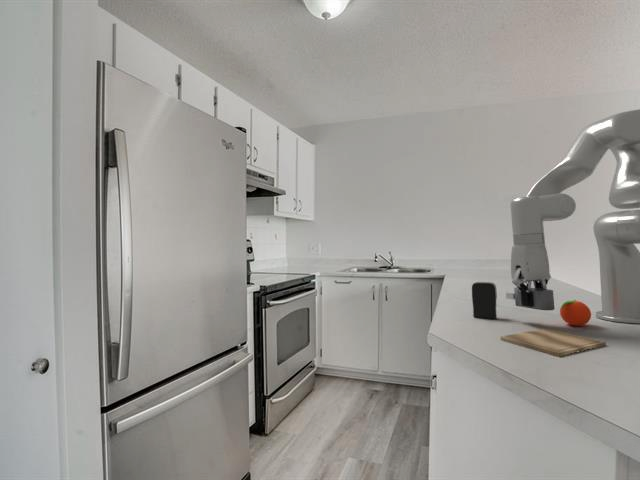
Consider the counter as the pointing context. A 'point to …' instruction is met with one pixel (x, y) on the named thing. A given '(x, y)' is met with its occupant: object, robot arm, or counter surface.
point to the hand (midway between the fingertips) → (534, 304)
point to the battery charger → (484, 300)
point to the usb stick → (534, 298)
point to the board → (553, 341)
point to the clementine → (575, 313)
